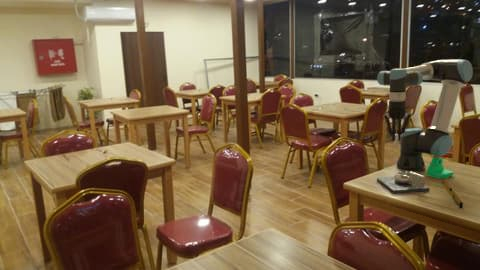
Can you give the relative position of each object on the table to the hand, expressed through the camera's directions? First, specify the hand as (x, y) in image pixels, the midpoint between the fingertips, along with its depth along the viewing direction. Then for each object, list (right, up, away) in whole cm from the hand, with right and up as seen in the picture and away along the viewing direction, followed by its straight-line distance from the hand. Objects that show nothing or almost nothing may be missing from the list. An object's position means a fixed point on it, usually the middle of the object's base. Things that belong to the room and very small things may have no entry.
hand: (395, 146), depth 197 cm
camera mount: (+30, -17, +14) cm, 37 cm away
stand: (+4, -20, +2) cm, 21 cm away
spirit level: (+22, -23, -12) cm, 34 cm away
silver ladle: (+7, -18, -1) cm, 19 cm away
